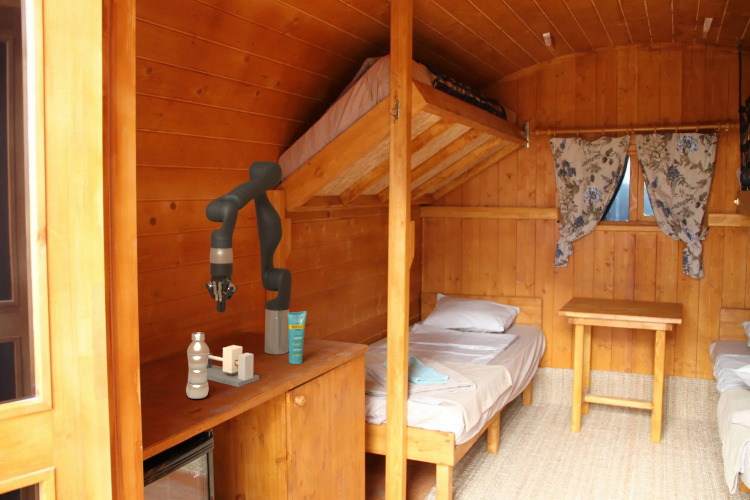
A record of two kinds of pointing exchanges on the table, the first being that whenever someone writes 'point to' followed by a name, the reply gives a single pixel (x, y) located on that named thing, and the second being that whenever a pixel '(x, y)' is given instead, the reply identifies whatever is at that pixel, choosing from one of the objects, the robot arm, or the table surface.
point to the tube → (296, 336)
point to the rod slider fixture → (235, 378)
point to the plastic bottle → (197, 367)
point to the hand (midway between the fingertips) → (220, 312)
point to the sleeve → (231, 358)
